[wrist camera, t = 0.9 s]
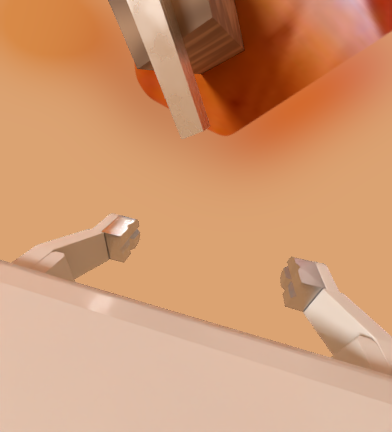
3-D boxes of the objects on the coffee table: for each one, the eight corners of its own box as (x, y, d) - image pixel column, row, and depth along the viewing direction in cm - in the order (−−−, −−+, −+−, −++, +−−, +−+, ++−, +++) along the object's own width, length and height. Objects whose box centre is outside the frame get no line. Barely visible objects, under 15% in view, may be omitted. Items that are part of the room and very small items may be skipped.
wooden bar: (210, 126, 24) (203, 130, 21) (190, 133, 25) (181, 139, 23) (97, -231, 13) (59, -298, 11) (72, -182, 14) (34, -232, 12)
